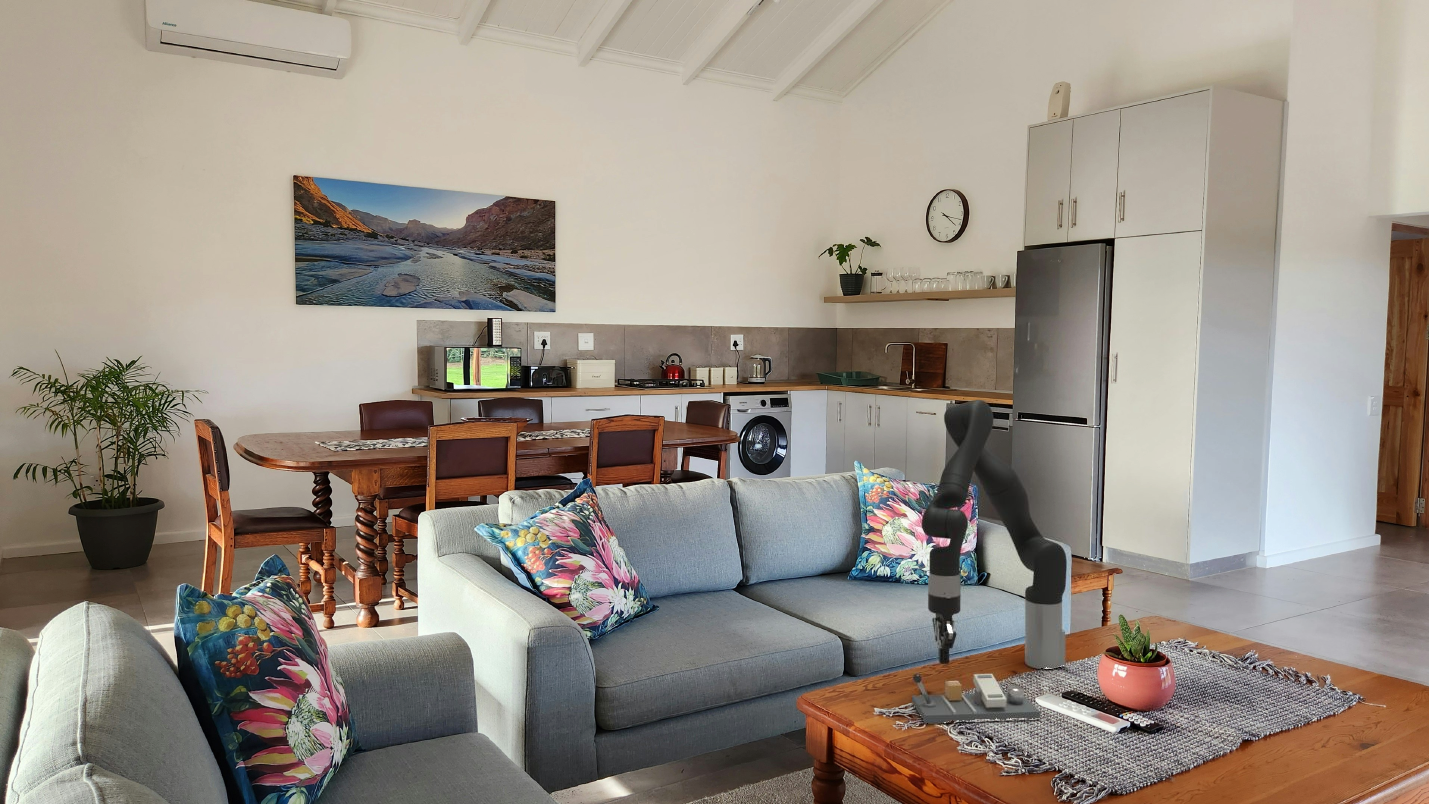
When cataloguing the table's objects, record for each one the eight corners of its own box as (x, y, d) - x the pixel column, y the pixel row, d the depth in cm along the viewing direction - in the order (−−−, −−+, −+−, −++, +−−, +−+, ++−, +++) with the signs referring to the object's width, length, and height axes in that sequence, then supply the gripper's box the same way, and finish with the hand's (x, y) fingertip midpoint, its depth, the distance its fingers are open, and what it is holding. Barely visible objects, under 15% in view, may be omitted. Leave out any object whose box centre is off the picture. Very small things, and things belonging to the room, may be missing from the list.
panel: (1020, 700, 223) (1020, 678, 223) (1040, 720, 211) (1040, 697, 211) (912, 703, 222) (911, 682, 222) (925, 724, 210) (925, 701, 210)
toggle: (931, 699, 217) (918, 670, 217) (934, 702, 215) (920, 673, 215) (924, 702, 217) (910, 674, 217) (926, 706, 215) (912, 677, 215)
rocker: (991, 680, 222) (992, 672, 221) (1005, 706, 212) (1006, 698, 211) (973, 681, 221) (973, 673, 221) (986, 707, 212) (987, 698, 211)
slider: (957, 695, 221) (957, 678, 221) (961, 699, 218) (961, 683, 218) (945, 695, 221) (945, 679, 220) (948, 700, 218) (948, 683, 217)
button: (1020, 697, 219) (1020, 684, 218) (1025, 703, 215) (1025, 690, 215) (1004, 697, 218) (1004, 685, 218) (1010, 703, 215) (1010, 691, 215)
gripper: (921, 584, 231) (921, 654, 232) (935, 599, 218) (935, 672, 219) (952, 584, 231) (951, 653, 232) (968, 598, 218) (967, 672, 219)
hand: (943, 662), depth 225 cm, fingers closed
